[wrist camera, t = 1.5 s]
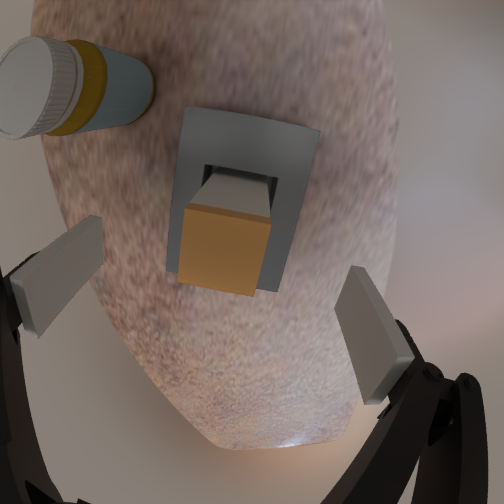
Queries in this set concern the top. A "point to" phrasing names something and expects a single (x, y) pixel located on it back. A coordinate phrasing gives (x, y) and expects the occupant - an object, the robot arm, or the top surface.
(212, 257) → the plug
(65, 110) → the bottle
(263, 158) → the gray socket block
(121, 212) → the top surface
